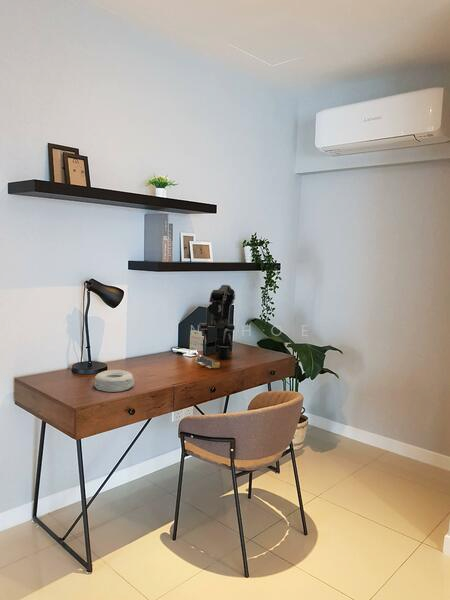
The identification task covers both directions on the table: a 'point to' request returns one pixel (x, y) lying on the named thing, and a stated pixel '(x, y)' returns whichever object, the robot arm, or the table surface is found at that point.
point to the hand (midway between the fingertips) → (215, 342)
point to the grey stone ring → (114, 380)
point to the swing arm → (208, 361)
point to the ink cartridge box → (196, 341)
